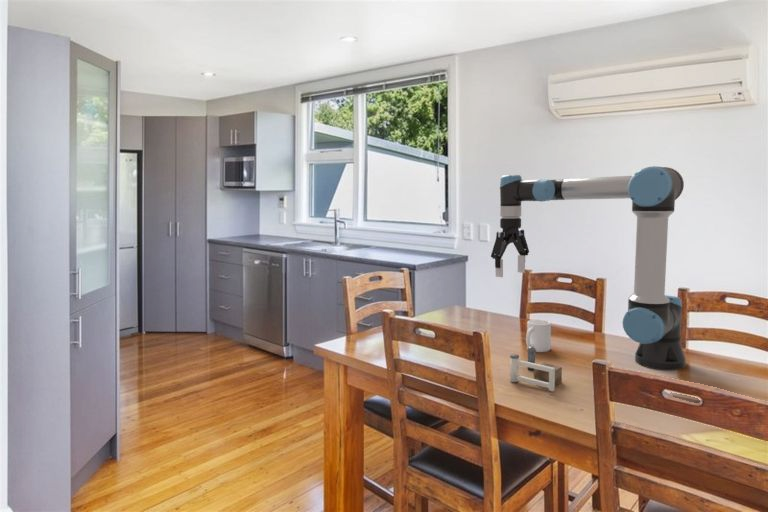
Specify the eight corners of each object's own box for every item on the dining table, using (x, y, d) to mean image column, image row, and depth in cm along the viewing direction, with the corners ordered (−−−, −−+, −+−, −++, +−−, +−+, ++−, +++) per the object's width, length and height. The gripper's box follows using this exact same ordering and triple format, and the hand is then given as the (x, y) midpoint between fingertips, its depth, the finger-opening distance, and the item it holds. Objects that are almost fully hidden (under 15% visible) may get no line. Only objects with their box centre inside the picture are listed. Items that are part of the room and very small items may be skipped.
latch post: (537, 369, 179) (537, 346, 178) (533, 371, 177) (533, 348, 176) (529, 367, 181) (529, 345, 180) (525, 369, 179) (525, 347, 178)
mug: (536, 356, 192) (536, 327, 191) (516, 351, 199) (516, 323, 198) (554, 349, 200) (555, 321, 199) (535, 344, 206) (535, 318, 205)
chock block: (561, 382, 166) (561, 366, 166) (552, 388, 162) (552, 371, 161) (543, 378, 170) (543, 362, 170) (533, 383, 166) (534, 367, 166)
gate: (508, 381, 168) (508, 355, 167) (512, 378, 169) (513, 353, 168) (551, 392, 158) (551, 365, 157) (555, 389, 159) (556, 363, 158)
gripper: (522, 215, 211) (521, 269, 213) (480, 219, 194) (481, 277, 197) (538, 216, 205) (538, 271, 207) (497, 219, 189) (498, 279, 191)
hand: (510, 274), depth 202 cm, fingers open, 13 cm apart
